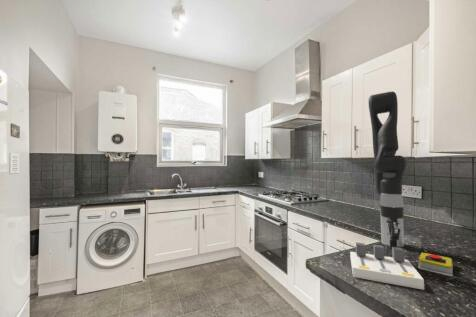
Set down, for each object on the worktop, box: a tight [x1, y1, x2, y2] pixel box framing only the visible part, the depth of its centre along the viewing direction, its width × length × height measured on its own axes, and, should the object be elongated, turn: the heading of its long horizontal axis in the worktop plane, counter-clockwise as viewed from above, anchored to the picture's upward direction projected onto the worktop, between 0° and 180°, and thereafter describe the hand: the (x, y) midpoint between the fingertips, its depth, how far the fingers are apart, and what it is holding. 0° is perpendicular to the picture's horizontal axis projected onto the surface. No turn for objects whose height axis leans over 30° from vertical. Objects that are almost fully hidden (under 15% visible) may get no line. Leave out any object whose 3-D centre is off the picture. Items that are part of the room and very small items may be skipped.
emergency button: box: [417, 252, 454, 277], centre depth 83 cm, size 9×4×15 cm
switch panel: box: [349, 251, 425, 291], centre depth 77 cm, size 17×19×3 cm
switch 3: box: [391, 247, 405, 262], centre depth 79 cm, size 3×3×4 cm
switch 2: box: [372, 244, 385, 259], centre depth 82 cm, size 3×3×4 cm
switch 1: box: [355, 242, 367, 256], centre depth 84 cm, size 3×3×4 cm
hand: (393, 249), depth 86 cm, fingers closed
